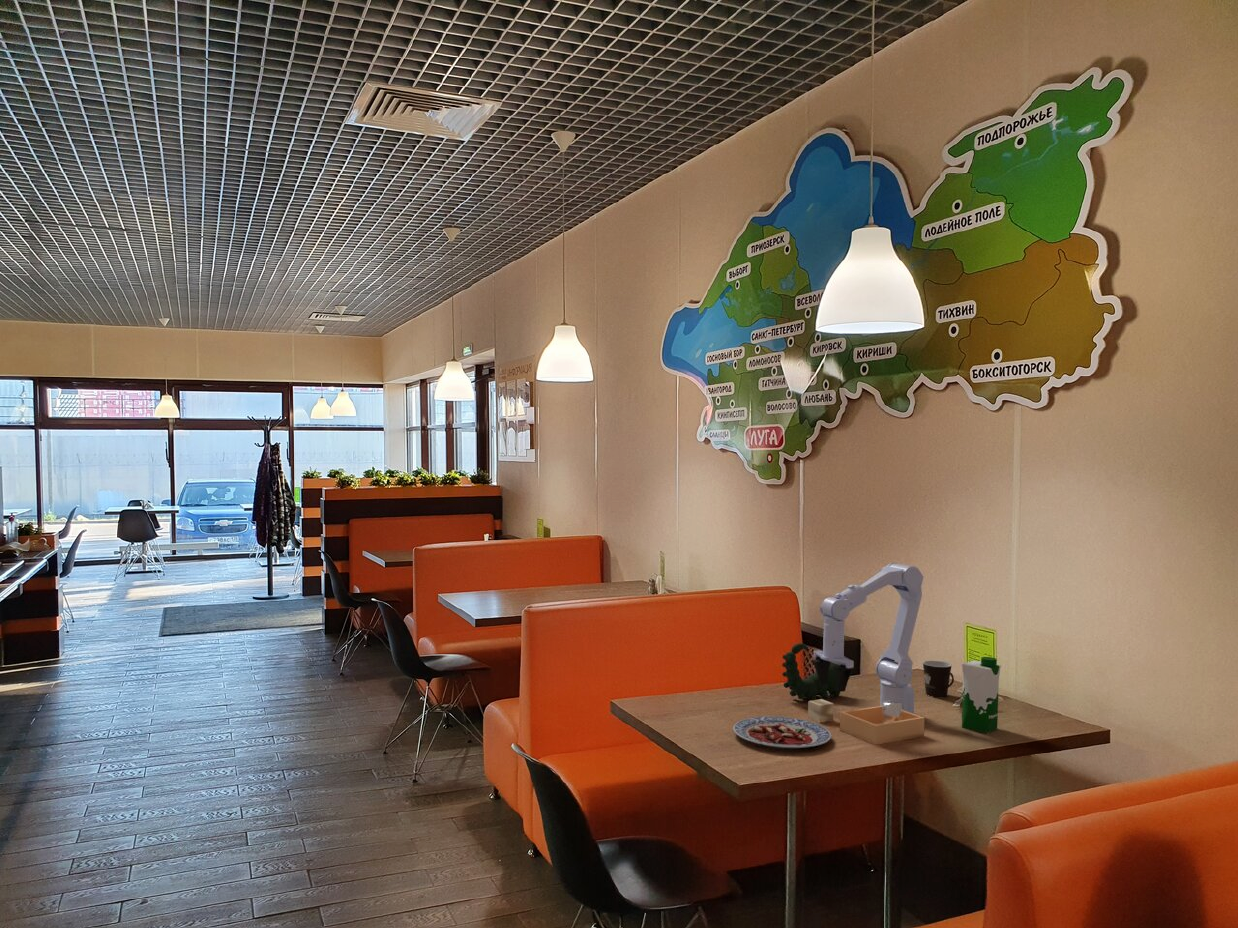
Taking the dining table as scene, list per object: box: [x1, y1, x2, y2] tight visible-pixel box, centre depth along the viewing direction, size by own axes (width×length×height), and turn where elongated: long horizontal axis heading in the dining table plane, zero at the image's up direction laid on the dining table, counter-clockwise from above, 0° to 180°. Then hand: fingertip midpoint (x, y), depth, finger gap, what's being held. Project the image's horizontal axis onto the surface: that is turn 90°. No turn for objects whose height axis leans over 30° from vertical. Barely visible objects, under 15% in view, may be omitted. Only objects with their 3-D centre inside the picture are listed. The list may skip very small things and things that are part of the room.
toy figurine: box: [781, 642, 841, 701], centre depth 282 cm, size 9×19×25 cm
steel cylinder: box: [882, 700, 902, 724], centre depth 250 cm, size 5×5×7 cm
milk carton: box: [961, 656, 1002, 734], centre depth 254 cm, size 9×9×20 cm
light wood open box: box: [839, 705, 925, 746], centre depth 248 cm, size 18×14×5 cm
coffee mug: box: [922, 660, 955, 698], centre depth 287 cm, size 12×9×10 cm
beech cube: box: [807, 698, 834, 724], centre depth 260 cm, size 5×5×5 cm
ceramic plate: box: [732, 716, 832, 750], centre depth 242 cm, size 26×26×3 cm
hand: (832, 687), depth 258 cm, fingers open, 7 cm apart
